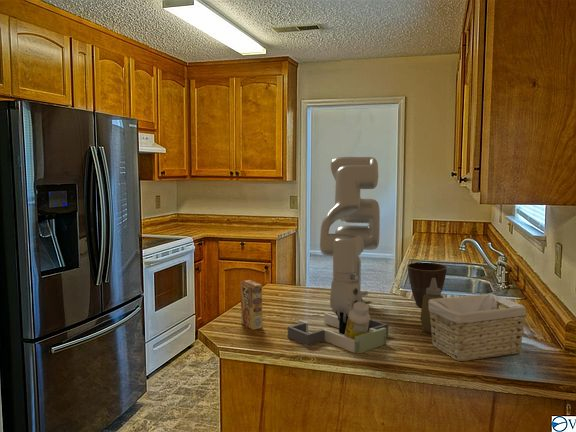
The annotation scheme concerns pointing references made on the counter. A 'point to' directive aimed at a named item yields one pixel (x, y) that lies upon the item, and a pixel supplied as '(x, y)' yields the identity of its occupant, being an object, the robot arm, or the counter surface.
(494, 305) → the storage basket
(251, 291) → the candy box
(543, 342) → the counter surface
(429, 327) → the squeeze bottle
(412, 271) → the plant pot
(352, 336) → the supplement bottle
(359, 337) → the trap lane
